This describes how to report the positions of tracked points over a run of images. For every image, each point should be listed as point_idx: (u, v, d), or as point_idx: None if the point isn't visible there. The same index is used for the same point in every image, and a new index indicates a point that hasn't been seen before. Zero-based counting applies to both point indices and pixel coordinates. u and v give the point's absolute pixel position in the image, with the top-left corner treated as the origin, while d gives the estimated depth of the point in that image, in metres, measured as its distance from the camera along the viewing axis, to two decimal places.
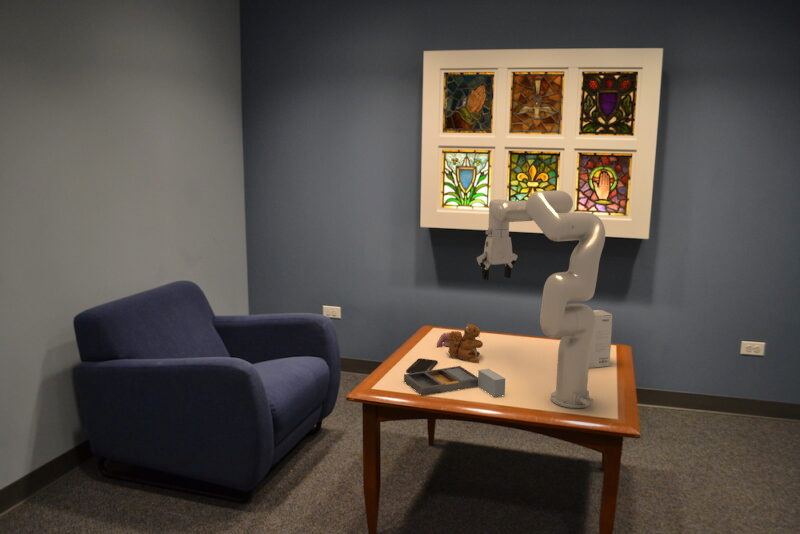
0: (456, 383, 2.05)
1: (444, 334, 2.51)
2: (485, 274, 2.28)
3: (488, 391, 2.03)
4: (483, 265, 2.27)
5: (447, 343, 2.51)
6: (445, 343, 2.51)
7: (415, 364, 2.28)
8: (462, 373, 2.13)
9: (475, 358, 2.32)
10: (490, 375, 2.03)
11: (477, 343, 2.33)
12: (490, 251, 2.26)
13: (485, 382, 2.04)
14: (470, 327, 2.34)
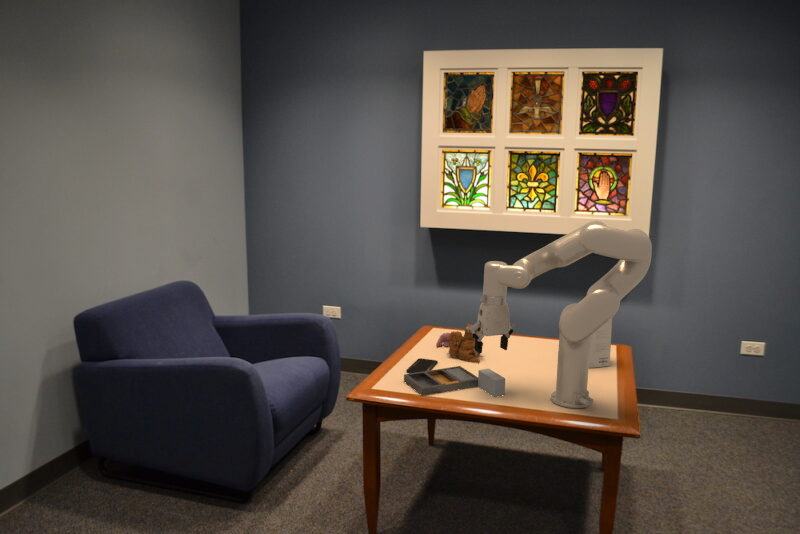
0: (456, 383, 2.05)
1: (443, 334, 2.50)
2: (478, 346, 1.99)
3: (488, 391, 2.03)
4: (476, 336, 1.98)
5: (446, 343, 2.50)
6: (444, 343, 2.51)
7: (415, 364, 2.28)
8: (462, 373, 2.13)
9: (475, 358, 2.32)
10: (490, 375, 2.03)
11: None
12: (484, 321, 1.96)
13: (485, 382, 2.04)
14: None
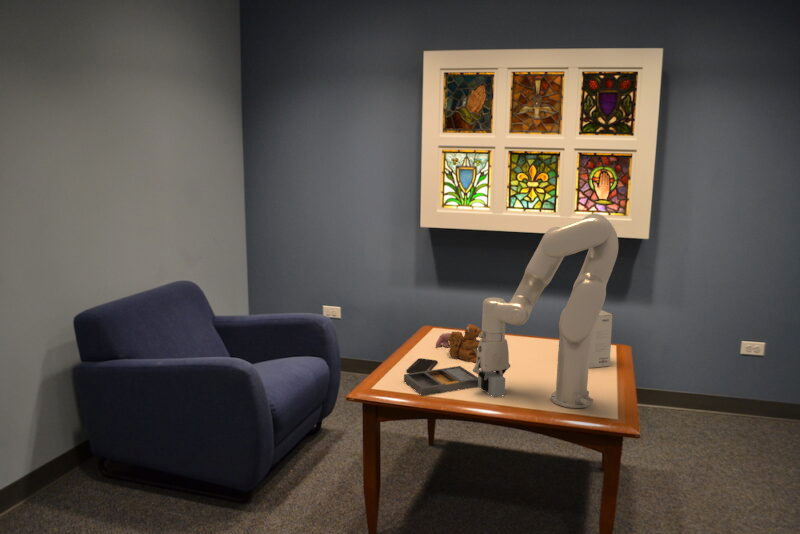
0: (456, 383, 2.05)
1: (443, 335, 2.50)
2: (484, 385, 2.02)
3: (488, 391, 2.03)
4: (482, 375, 2.01)
5: (446, 344, 2.50)
6: (444, 344, 2.50)
7: (415, 364, 2.28)
8: (462, 373, 2.13)
9: (476, 358, 2.32)
10: (490, 375, 2.03)
11: (478, 343, 2.33)
12: (484, 357, 1.99)
13: None
14: (471, 327, 2.34)
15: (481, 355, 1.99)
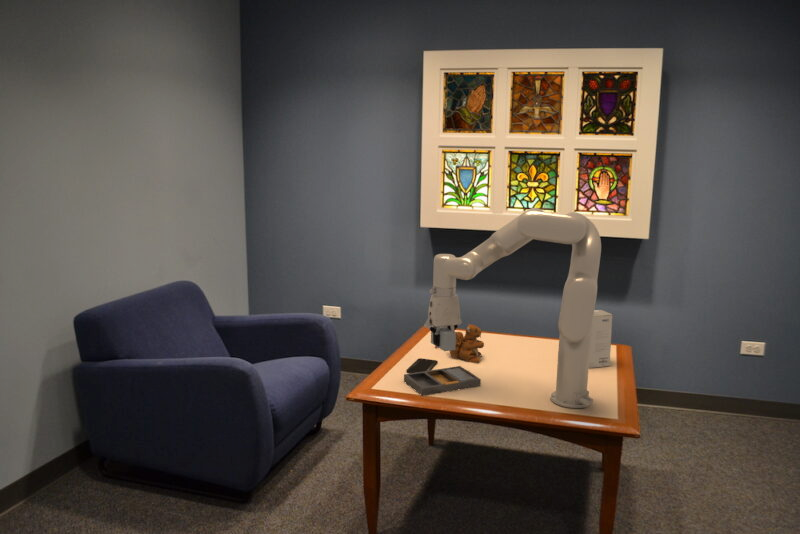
0: (456, 383, 2.05)
1: None
2: (436, 340, 2.06)
3: None
4: (433, 330, 2.05)
5: None
6: None
7: (415, 364, 2.28)
8: (462, 373, 2.13)
9: (476, 358, 2.32)
10: (441, 330, 2.06)
11: (478, 344, 2.33)
12: (434, 312, 2.02)
13: None
14: (471, 327, 2.33)
15: (432, 310, 2.03)
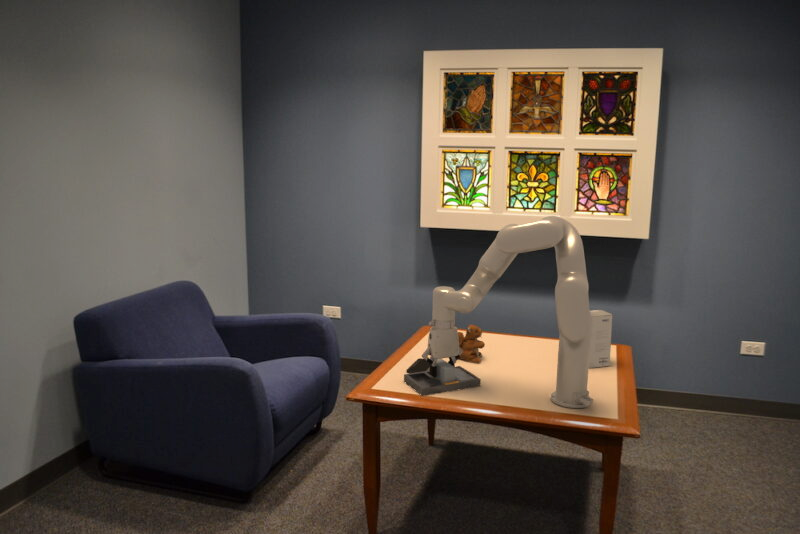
0: (456, 383, 2.05)
1: None
2: (433, 371, 2.07)
3: (439, 380, 2.08)
4: (430, 361, 2.06)
5: None
6: None
7: (415, 364, 2.28)
8: (462, 373, 2.13)
9: (477, 359, 2.31)
10: (441, 364, 2.08)
11: (479, 344, 2.33)
12: (433, 345, 2.04)
13: None
14: (472, 328, 2.33)
15: (431, 342, 2.05)
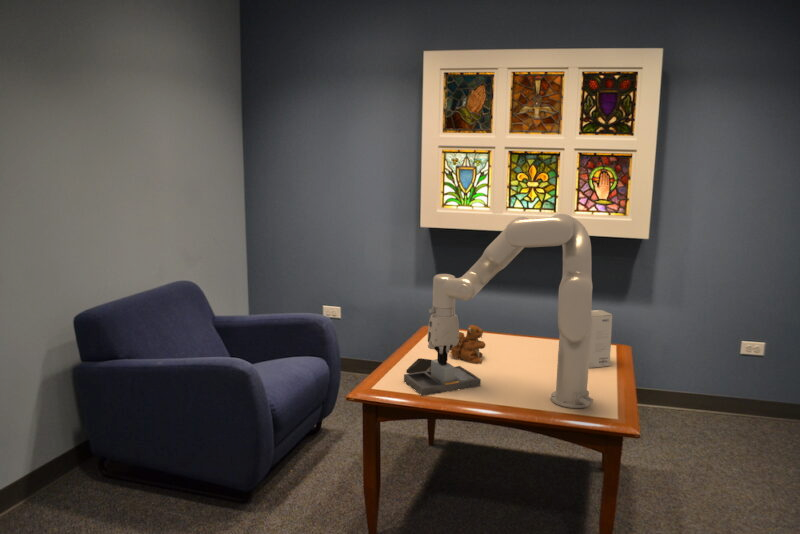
0: (456, 383, 2.05)
1: None
2: (440, 358, 2.08)
3: (439, 380, 2.08)
4: (438, 349, 2.07)
5: None
6: None
7: (415, 364, 2.28)
8: (462, 373, 2.13)
9: (478, 359, 2.31)
10: None
11: (479, 344, 2.32)
12: (434, 332, 2.03)
13: (436, 371, 2.10)
14: (473, 328, 2.33)
15: (431, 330, 2.04)
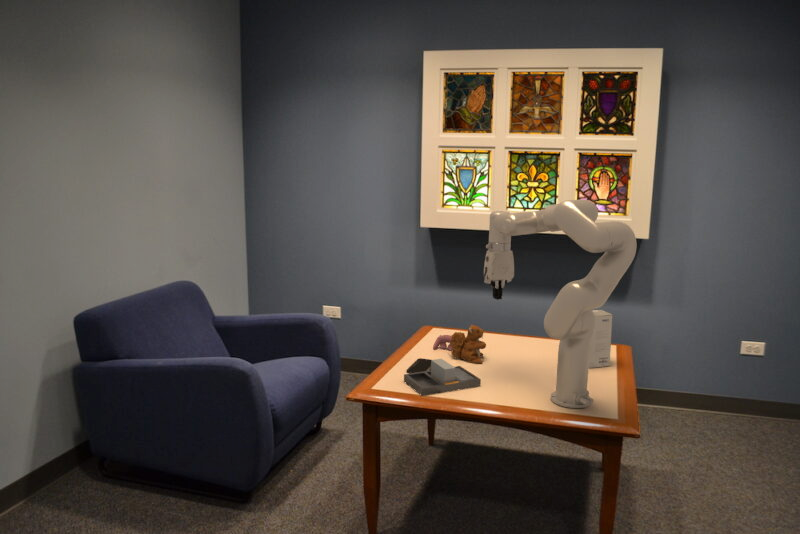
0: (456, 383, 2.05)
1: (440, 336, 2.48)
2: (496, 293, 2.16)
3: (439, 380, 2.08)
4: (494, 284, 2.15)
5: (443, 345, 2.47)
6: (441, 345, 2.48)
7: (415, 364, 2.28)
8: (462, 373, 2.13)
9: (478, 359, 2.31)
10: (441, 364, 2.08)
11: (480, 344, 2.32)
12: (491, 266, 2.12)
13: (436, 371, 2.10)
14: (473, 328, 2.33)
15: (488, 264, 2.12)
